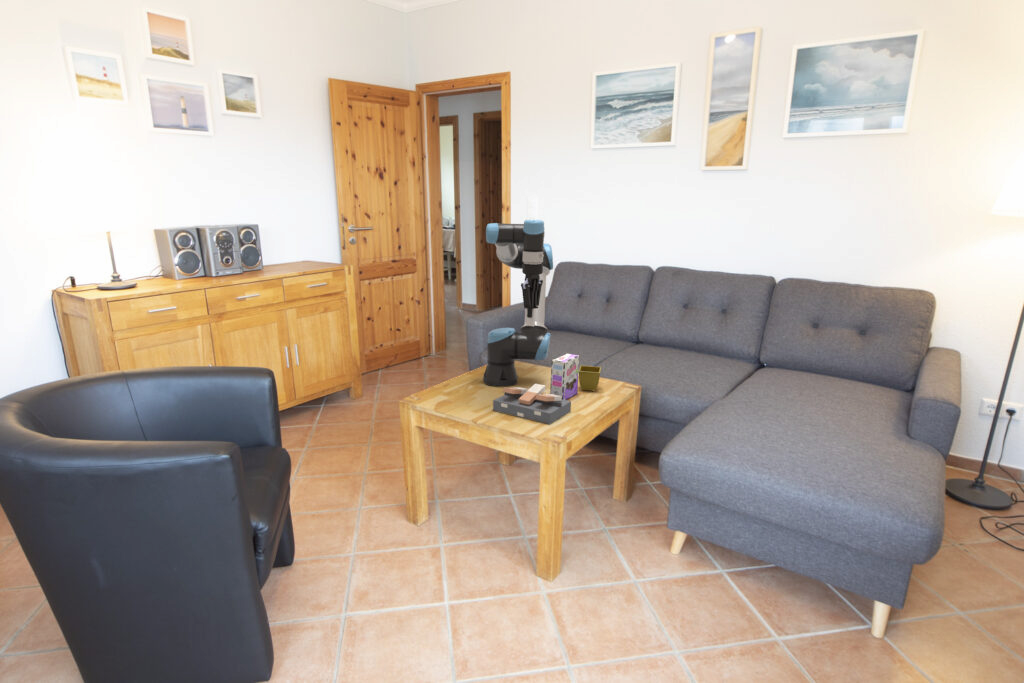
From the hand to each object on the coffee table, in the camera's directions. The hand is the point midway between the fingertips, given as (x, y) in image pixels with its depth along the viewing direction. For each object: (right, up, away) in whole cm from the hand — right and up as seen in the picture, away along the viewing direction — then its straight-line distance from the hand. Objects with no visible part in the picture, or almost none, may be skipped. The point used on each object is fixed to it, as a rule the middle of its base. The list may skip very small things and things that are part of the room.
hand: (530, 325), depth 211 cm
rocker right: (+6, -26, -9) cm, 29 cm away
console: (0, -32, -4) cm, 32 cm away
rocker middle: (0, -25, -5) cm, 26 cm away
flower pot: (+25, -26, +24) cm, 44 cm away
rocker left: (-6, -24, -2) cm, 25 cm away
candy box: (+14, -28, +13) cm, 34 cm away
